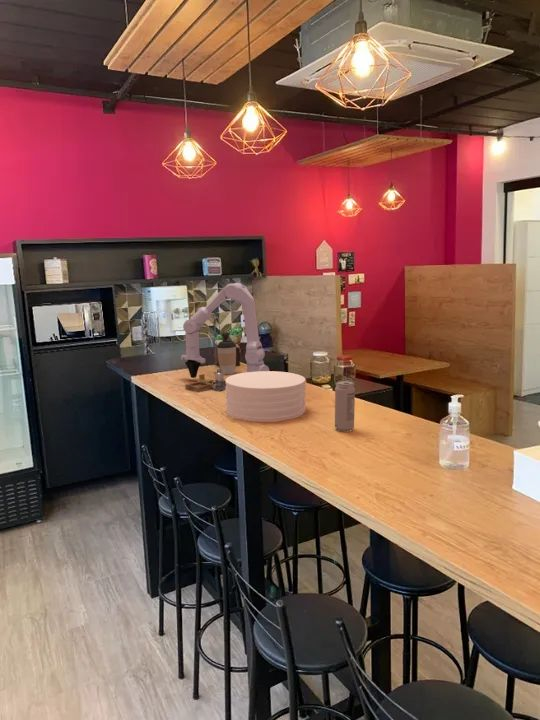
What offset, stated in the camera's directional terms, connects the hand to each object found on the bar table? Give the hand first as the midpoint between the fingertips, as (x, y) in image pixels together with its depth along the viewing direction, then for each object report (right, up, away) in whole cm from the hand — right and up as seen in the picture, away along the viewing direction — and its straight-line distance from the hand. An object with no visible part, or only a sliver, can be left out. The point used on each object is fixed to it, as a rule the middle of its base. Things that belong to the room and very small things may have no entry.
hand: (193, 377), depth 245 cm
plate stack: (+32, -11, -48) cm, 59 cm away
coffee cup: (+14, +1, +16) cm, 21 cm away
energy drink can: (+57, -14, -71) cm, 92 cm away
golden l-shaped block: (+6, -2, -5) cm, 8 cm away
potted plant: (+13, +4, +34) cm, 36 cm away
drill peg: (+12, -4, -11) cm, 17 cm away
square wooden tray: (+4, -4, -15) cm, 16 cm away
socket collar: (+12, -4, -11) cm, 17 cm away
